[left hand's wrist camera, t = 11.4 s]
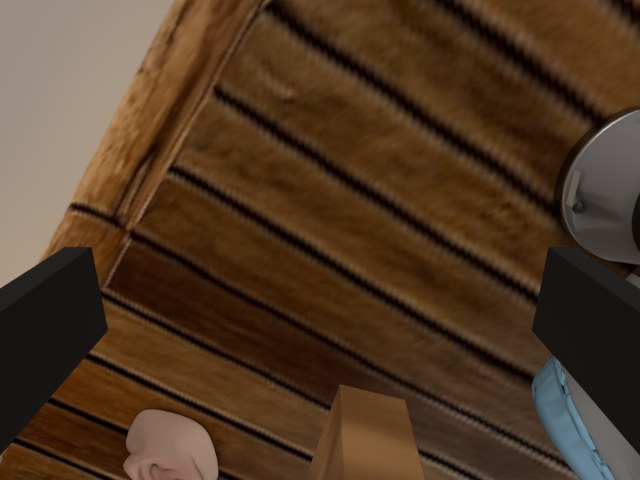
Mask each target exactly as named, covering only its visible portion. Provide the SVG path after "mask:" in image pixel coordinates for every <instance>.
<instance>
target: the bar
mask: <svg viewBox="0 0 640 480" xmlns="http://www.w3.org/2000/svg"><path fill="white" fill-rule="evenodd" d="M305 480H425V478H424V474H423V470H422V466H421V462H420V458H419V454H418V450H417V446H416V442H415V438H414V434H413V430H412V426H411V422H410V419H409V415H408V411H407V407H406V403H405V400H402V399H398V398H394V397H390V396H386V395H382V394H378V393H374V392H369V391H365V390H361V389H357V388H353V387H349V386H345V385H341V384H340V386H339V388H338V391H337V394H336V396H335V399H334V402H333V405H332V407H331V410H330V413H329V416H328V418H327V421H326V424H325V427H324V429H323V432H322V435H321V437H320V440H319V443H318V446H317V448H316V451H315V454H314V457H313V459H312V462H311V465H310V467H309V470H308V473H307V476H306V478H305Z"/></svg>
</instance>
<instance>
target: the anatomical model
mask: <svg viewBox="0 0 640 480" xmlns="http://www.w3.org/2000/svg"><path fill="white" fill-rule="evenodd" d="M126 446H127V449H128V451H129V452H130V453H131V455H130V456H129V457H128V458H127V459H126V461H125V463H124V470H125V471H126V473H127V474H128V475H129V476H130V477H131V479H132V480H217V478H218V463H217V457H216V453H215V450H214V446H213V444H212V441H211V439H210V436H209V435H208V433H207V431H206V430H205V429H204V428H203V427H202V426H201V425H200V424H198V423H197V422H195V421H194V420H192V419H189V418H187V417H184V416H182V415H178V414H175V413H171V412H167V411H162V410H155V409H148V410H144V411H142V412H140V413H139V414H138V416H137V417H136V418H135V420H134V422H133V424H132V426H131V427H130V430H129V432H128V436H127V440H126Z"/></svg>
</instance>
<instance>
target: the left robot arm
mask: <svg viewBox="0 0 640 480" xmlns="http://www.w3.org/2000/svg"><path fill="white" fill-rule="evenodd" d="M555 205H556V212H557V216H558V219H559V221H560V224H561V226H562V228H563V229H564V231H565V232H566V234H567V235H568V236H569V237H570V238H571V239H572V240H573V241H574V242H575V243H576V244H578V245H579V246H581V247H582V248H584V249H586V250H587V251H589V252H590V253H592V254H594V255H596V256H598V257H601V258H603V259H607V260H611V261H618V262H625V263H632V264H640V106H636V107H632V108H628V109H625V110H622V111H620V112H617V113H615V114H613V115H611V116H609V117H607V118H606V119H604V120H603V121H601V122H600V123H598V124H597V125H595V126H594V127H593V128H592V129H591V130H589V131H588V132H587V133H586V134H585V135H584V136H583V137H582V138H581V139H580V140H579V141H578V143H577V144H576V145H575V146H574V148H573V149H572V150H571V152H570V153H569V155H568V157H567V158H566V160H565V162H564V164H563V166H562V169H561V171H560V174H559V177H558V181H557V186H556V193H555ZM107 331H108V328H107V323H106V318H105V313H104V308H103V303H102V298H101V293H100V288H99V283H98V278H97V273H96V268H95V263H94V258H93V253H92V248H91V247H64V248H63V249H61V250H59V251H58V252H56V253H55V254H53V255H52V256H50V257H49V258H47V259H45V260H44V261H42V262H41V263H39V264H38V265H36V266H35V267H33V268H31V269H30V270H28V271H27V272H25V273H24V274H22V275H20V276H19V277H17V278H16V279H14V280H13V281H11V282H10V283H8V284H7V285H5V286H3V287H2V288H0V455H1V454H2V453H3V452H4V451H5V450H6V448H7V447H8V446H9V445H10V444H11V443H12V441H13V440H14V439H15V438H16V437H17V436H18V434H19V433H20V432H21V431H22V430H23V429H24V427H25V426H26V425H27V424H28V423H29V422H30V420H31V419H32V418H33V417H34V416H35V415H36V413H37V412H38V411H39V410H40V409H41V408H42V406H43V405H44V404H45V403H46V402H47V401H48V399H49V398H50V397H51V396H52V395H53V394H54V392H55V391H56V390H57V389H58V388H59V387H60V385H61V384H62V383H63V382H64V381H65V380H66V379H67V377H68V376H69V375H70V374H71V373H72V372H73V370H74V369H75V368H76V367H77V366H78V365H79V363H80V362H81V361H82V360H83V359H84V358H85V356H86V355H87V354H88V353H89V352H90V351H91V349H92V348H93V347H94V346H95V345H96V344H97V342H98V341H99V340H100V339H101V338H102V337H103V335H104V334H105V333H106V332H107ZM532 331H533V332H534V333H535V334H536V335H537V337H538V338H539V339H540V340H541V341H542V342H543V344H544V345H545V346H546V347H547V348H548V349H549V351H550V352H551V353H552V354H553V355H552V356H551V357H550V359H549V360H548V361H547V362H546V363H545V365H544V366H543V367H542V368H541V369H540V370H539V371H538V373H537V374H536V375H535V377H534V380H533V382H532V398H533V401H534V406H535V410H536V413H537V415H538V417H539V420H540V422H541V424H542V426H543V428H544V429H545V431H546V433H547V435H548V436H549V438H550V440H551V441H552V443H553V444H554V446H555V447H556V449H557V450H558V452H559V453H560V454H561V456H562V457H563V458H564V460H565V461H566V462H567V464H568V465H569V466H570V468H571V469H572V470H573V471H574V473H575V474H576V475H577V476H578V477H579V478H580V480H640V265H639V266H638V267H637V268H636V269H635V270H634V271H633V272H632V273H631V274H630V275H629V276H628V277H627V278H626V279H624V278H623V277H621V276H620V275H618V274H616V273H615V272H613V271H612V270H610V269H609V268H607V267H605V266H604V265H602V264H601V263H599V262H598V261H596V260H595V259H593V258H591V257H590V256H588V255H587V254H585V253H584V252H582V251H581V250H579V249H577V248H576V247H549V248H548V253H547V258H546V263H545V268H544V273H543V278H542V283H541V288H540V293H539V298H538V303H537V308H536V313H535V318H534V323H533V328H532Z"/></svg>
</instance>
